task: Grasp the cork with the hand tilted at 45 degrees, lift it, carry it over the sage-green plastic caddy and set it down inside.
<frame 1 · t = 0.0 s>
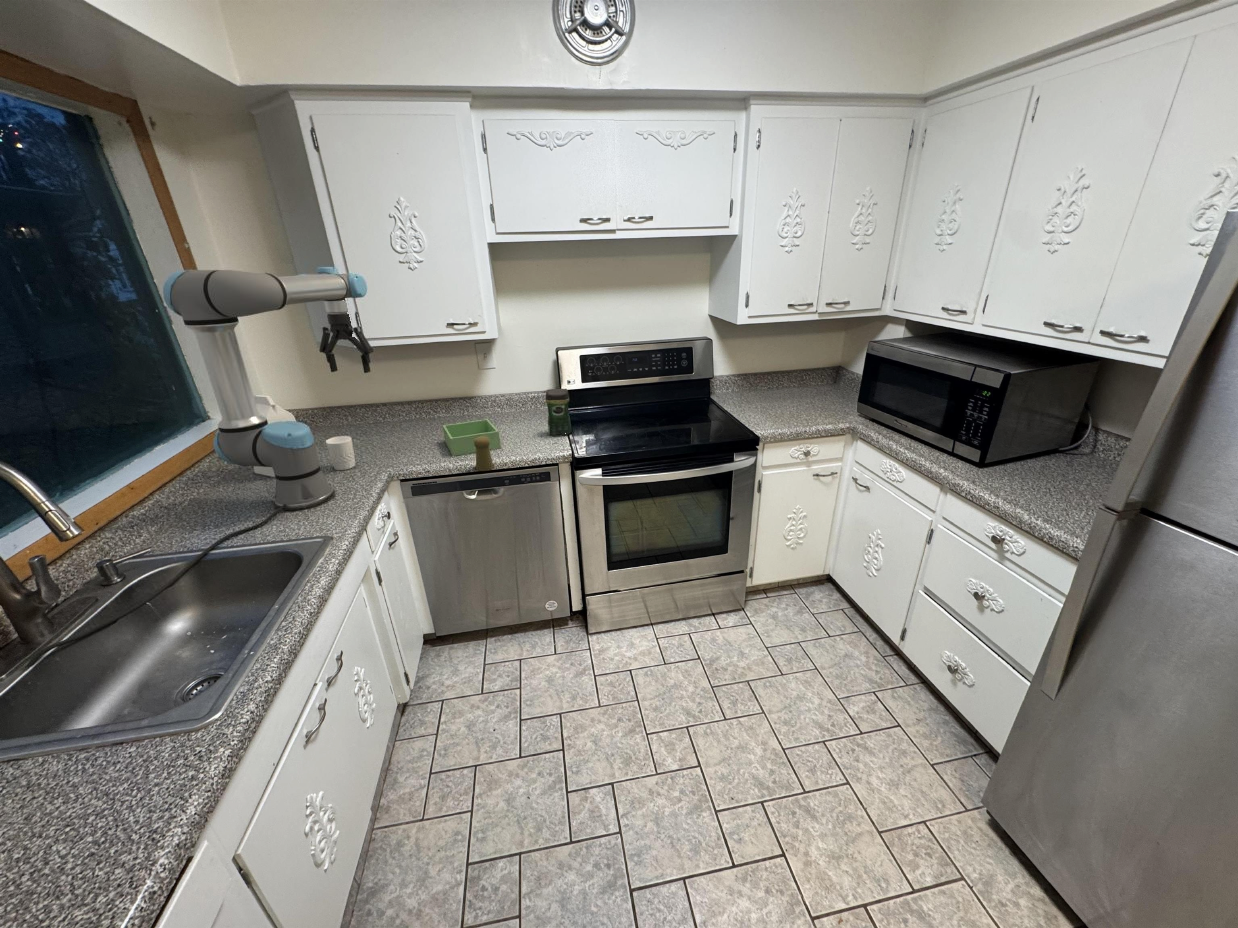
hand: (350, 372, 188), 28 cm above the countertop, tool pointing down, fingers open, 13 cm apart
cork: (484, 468, 174), on the countertop
caddy: (472, 444, 195), on the countertop
white cup: (345, 467, 176), on the countertop
coffee jar: (559, 433, 207), on the countertop
milk: (283, 469, 174), on the countertop
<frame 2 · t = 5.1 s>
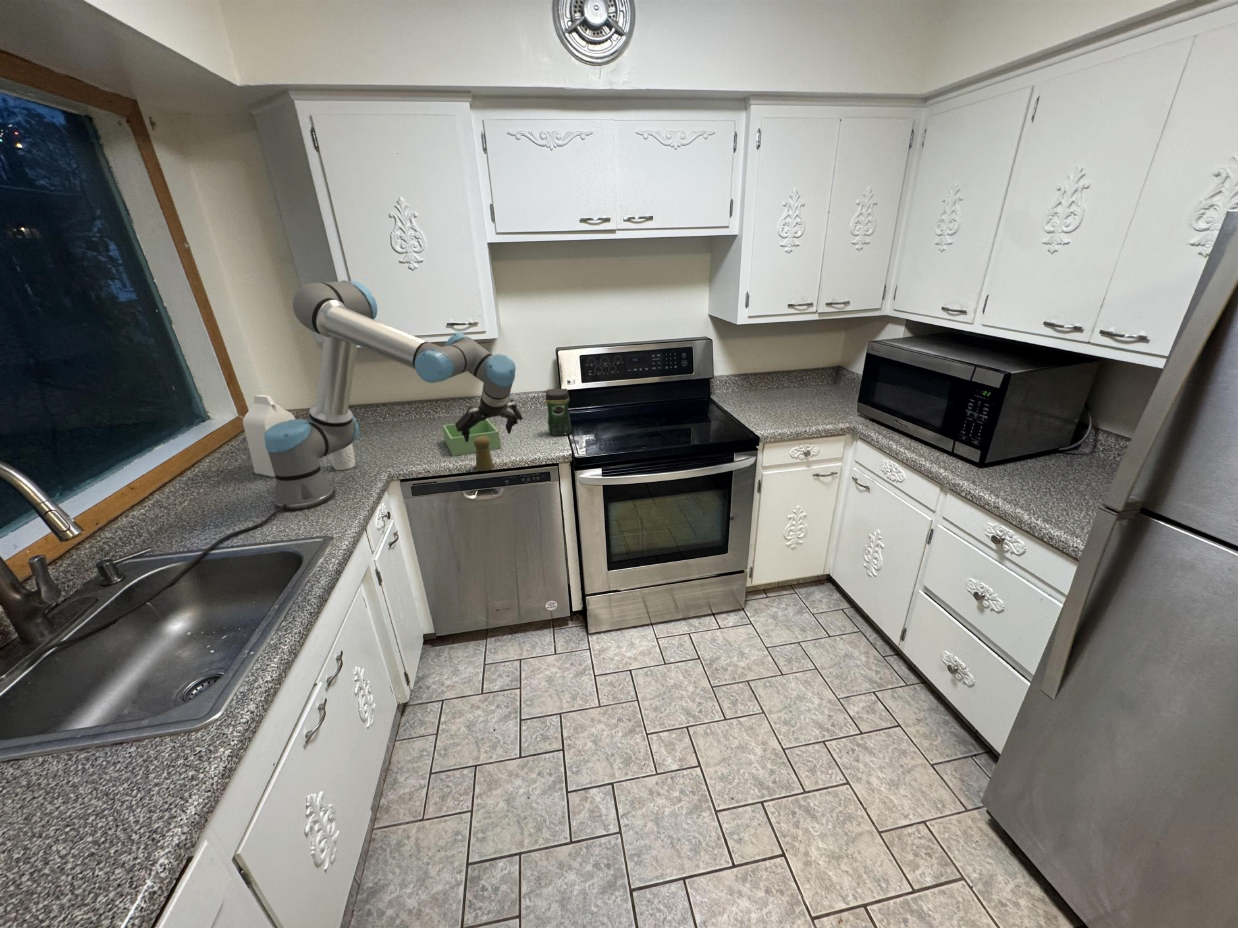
hand: (487, 434, 160), 15 cm above the countertop, tool tilted 45°, fingers open, 13 cm apart
nothing on the countertop moved.
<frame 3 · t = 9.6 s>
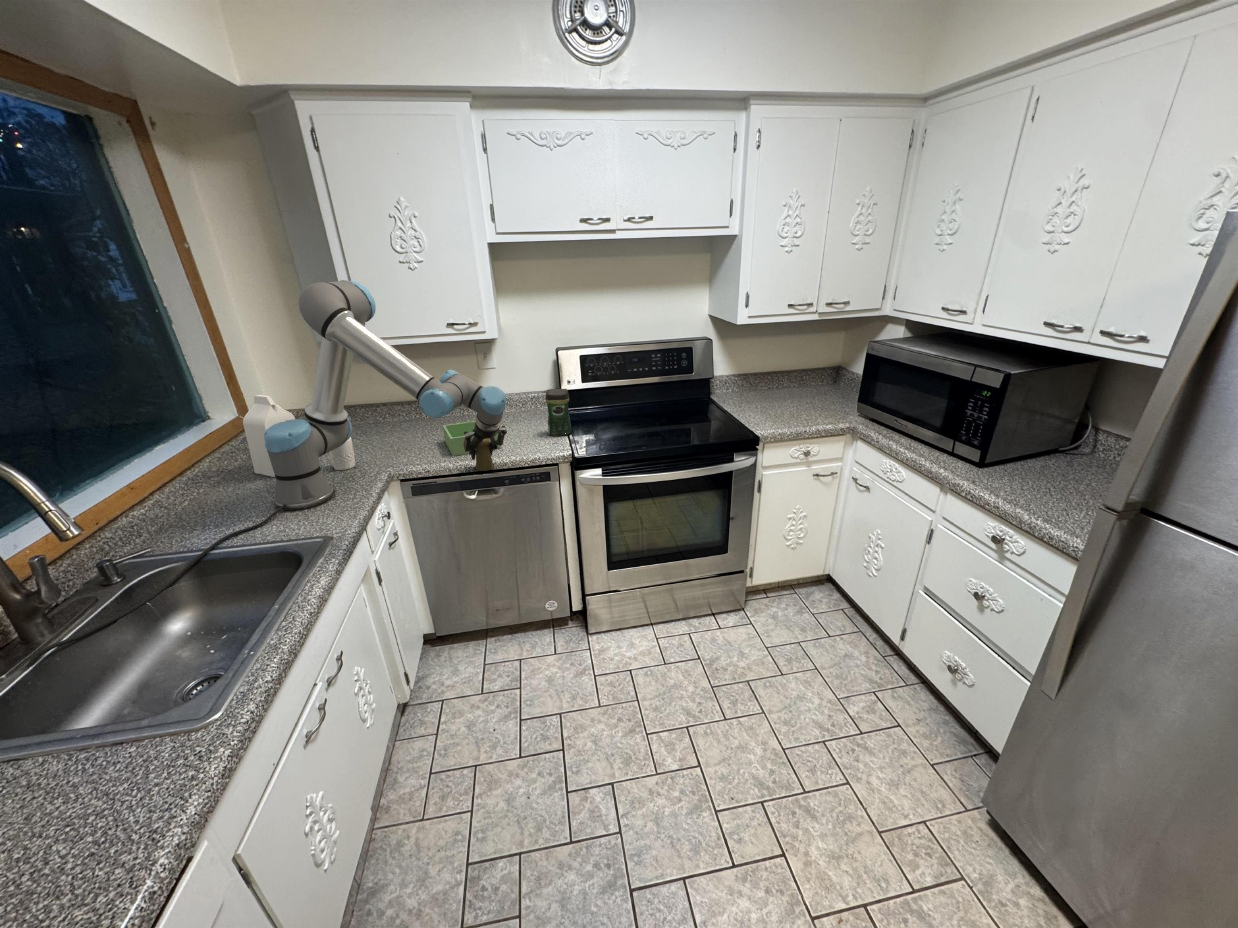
hand: (481, 454, 175), 4 cm above the countertop, tool tilted 45°, fingers closed on cork, 5 cm apart
cork: (484, 468, 174), on the countertop, touching gripper
everything else where it was.
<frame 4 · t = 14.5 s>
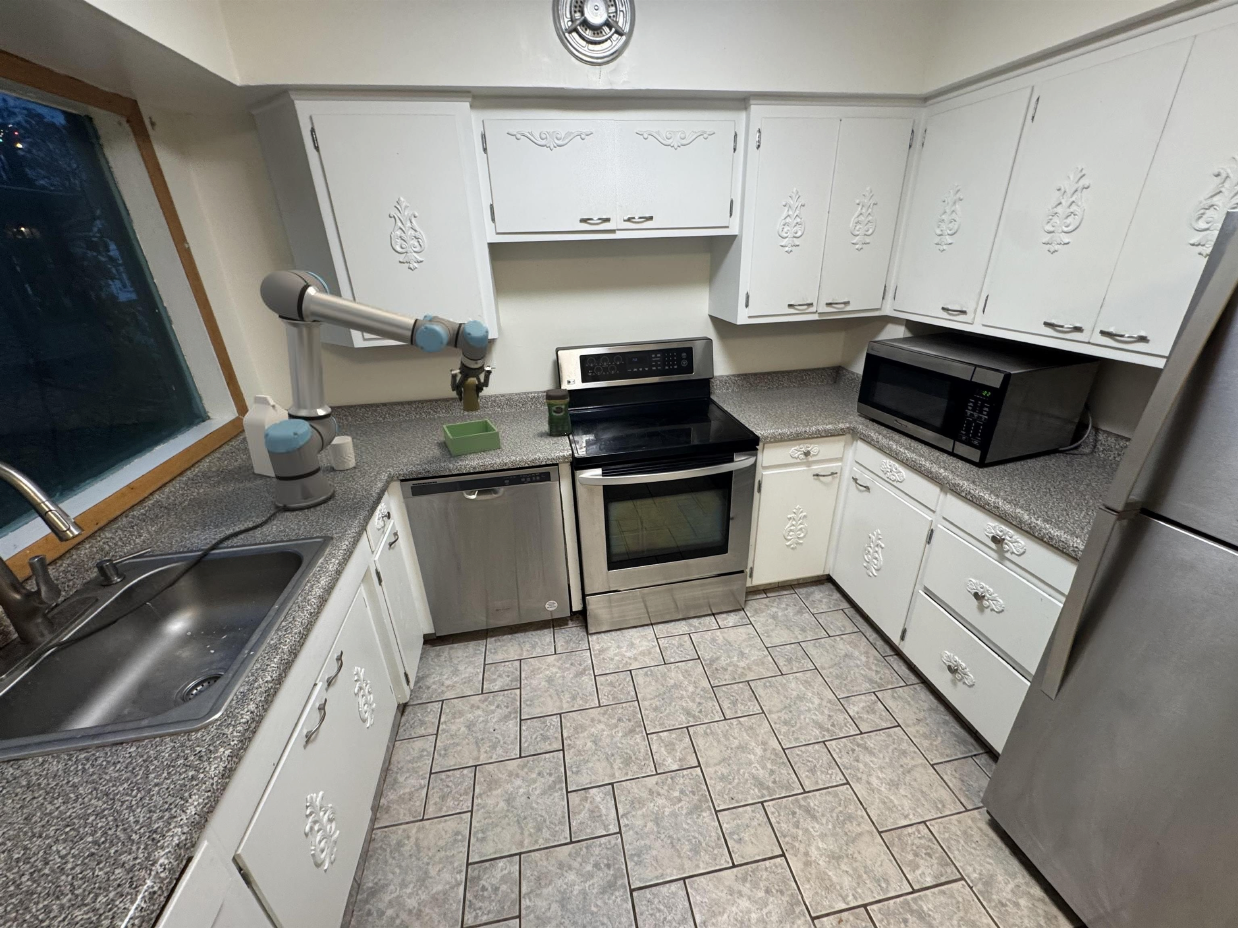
hand: (468, 397, 182), 20 cm above the countertop, tool tilted 45°, fingers closed on cork, 5 cm apart
cork: (471, 409, 181), point 17 cm above the countertop, touching gripper
everything else where it was.
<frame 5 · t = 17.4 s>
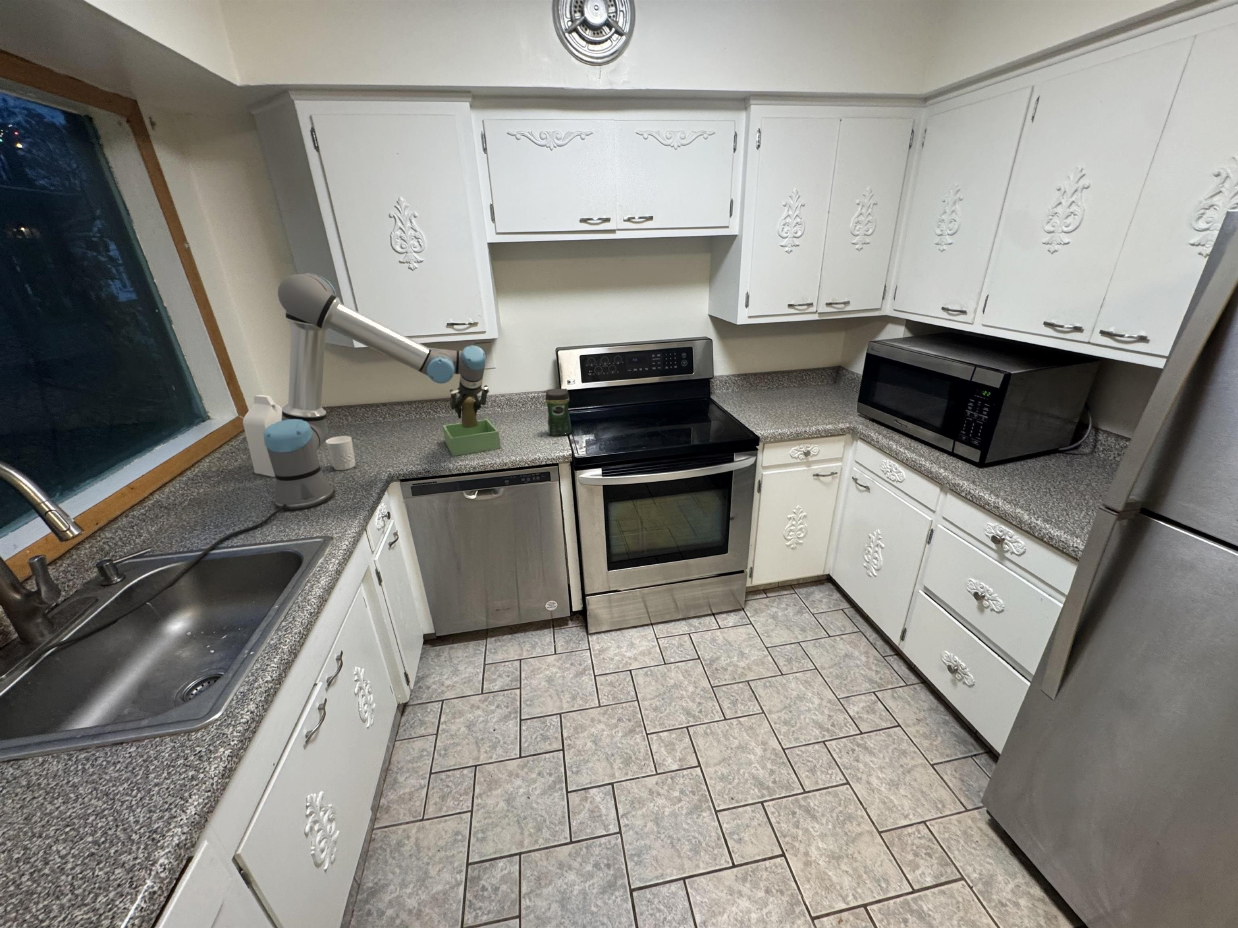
hand: (466, 414, 194), 11 cm above the countertop, tool tilted 45°, fingers closed on cork, 5 cm apart
cork: (470, 426, 192), point 8 cm above the countertop, touching gripper
everything else where it was.
when the fingers open (4 cm above the countertop, at t = 19.5 s): cork stays where it is, resting on caddy.
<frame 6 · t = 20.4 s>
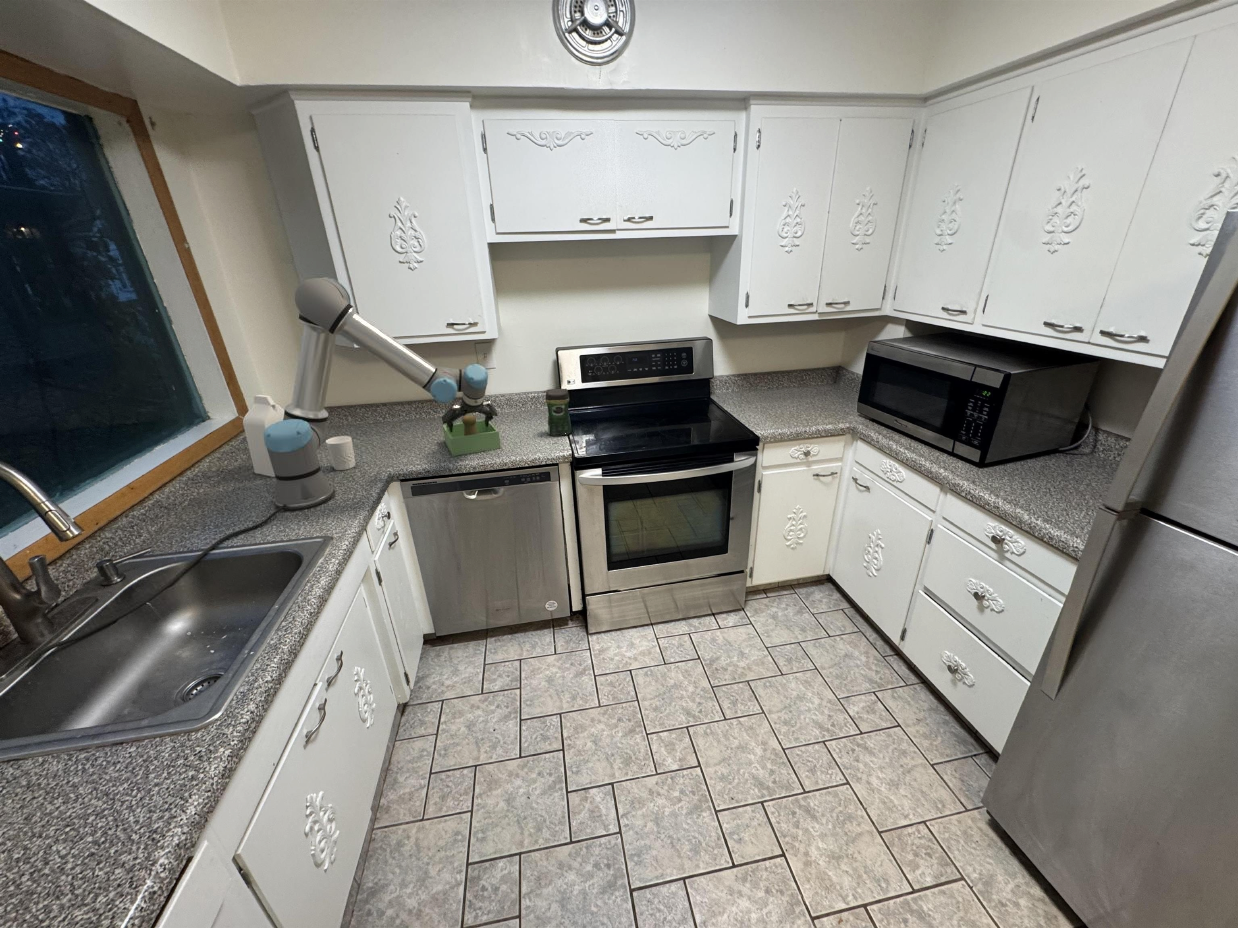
hand: (468, 426, 194), 7 cm above the countertop, tool tilted 45°, fingers open, 13 cm apart
cork: (472, 443, 195), point 1 cm above the countertop, touching caddy
everything else where it was.
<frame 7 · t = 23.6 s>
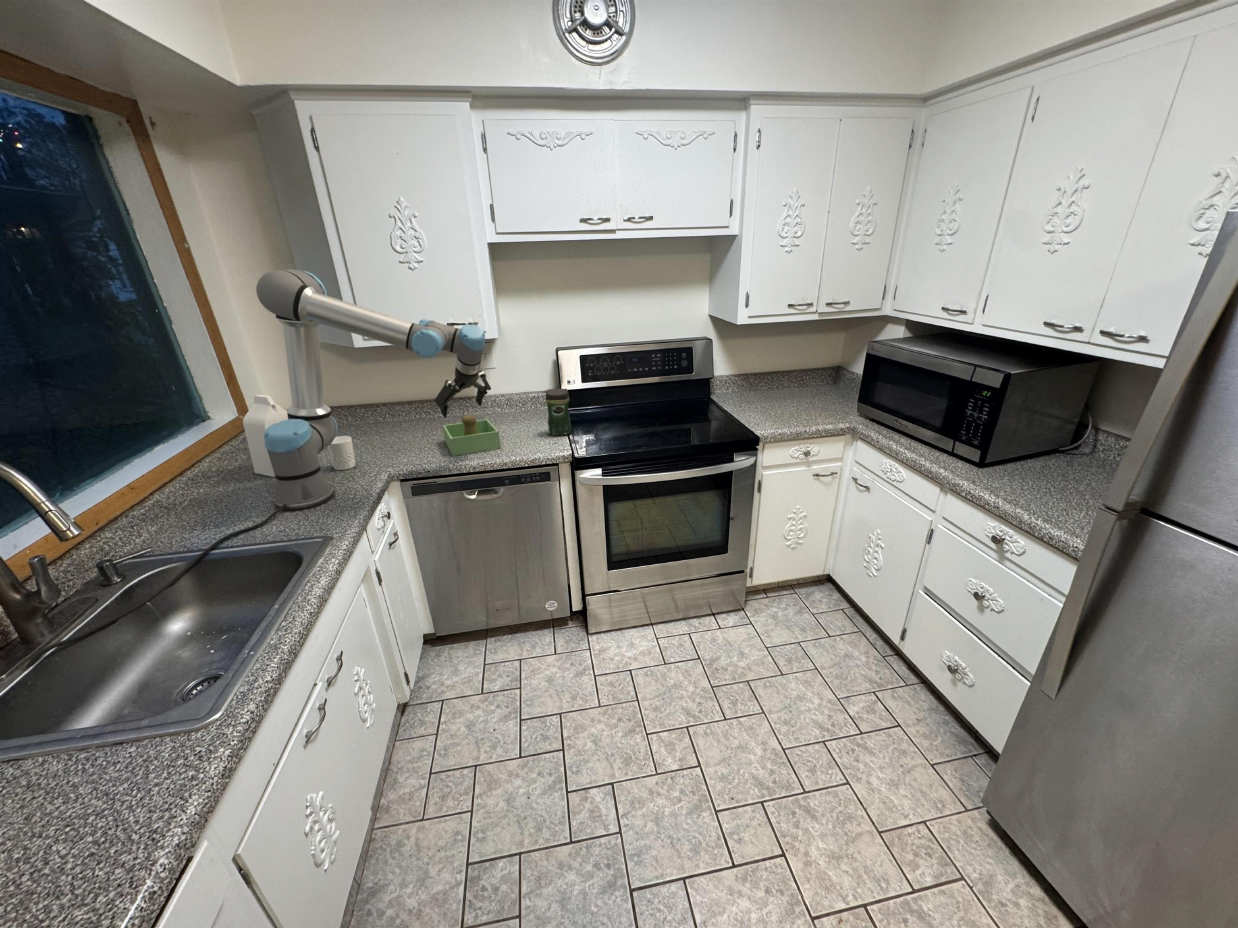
hand: (461, 408, 179), 18 cm above the countertop, tool tilted 35°, fingers open, 13 cm apart
nothing on the countertop moved.
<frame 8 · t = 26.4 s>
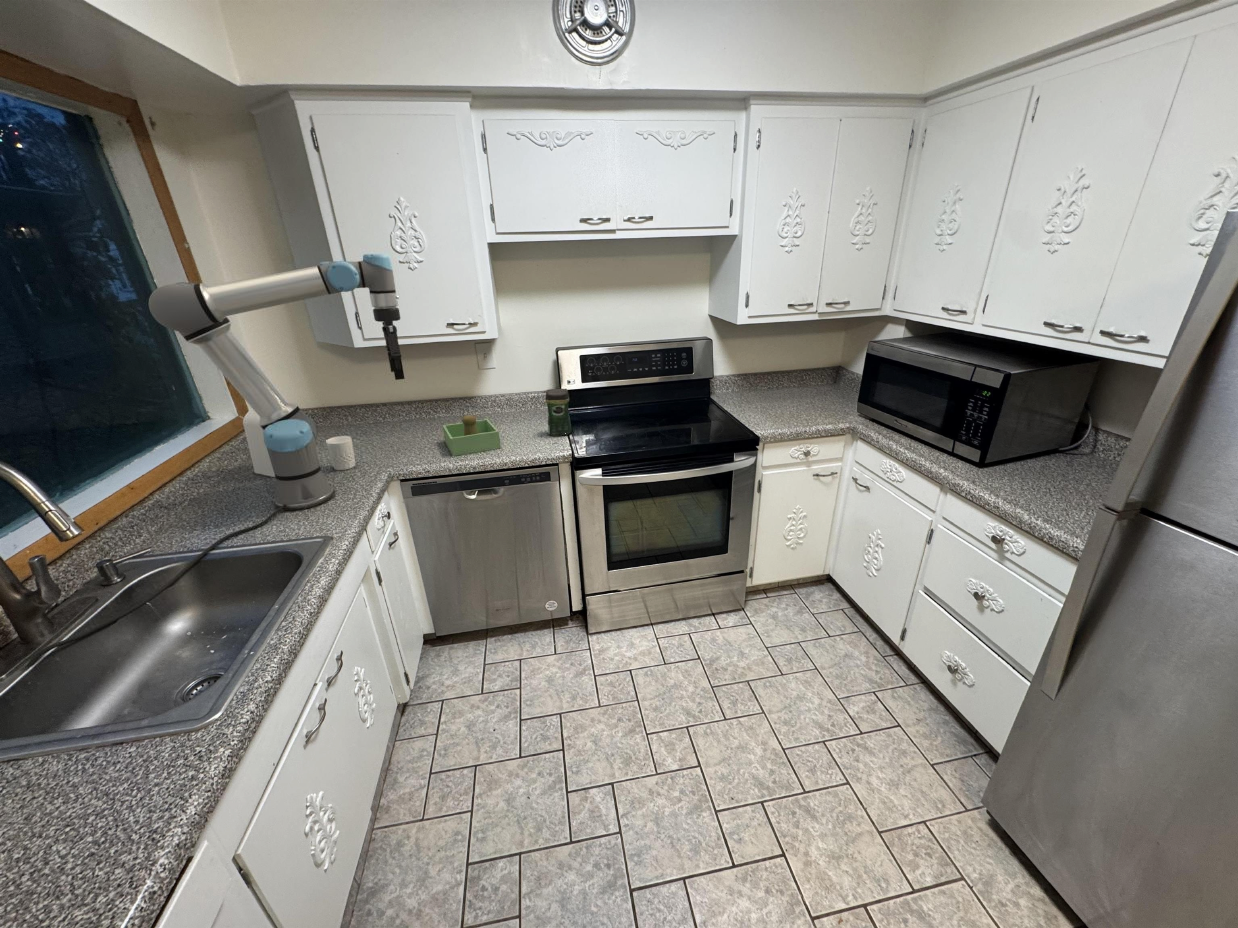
hand: (397, 375, 165), 32 cm above the countertop, tool pointing down, fingers open, 13 cm apart
nothing on the countertop moved.
at the end: cork inside the target area in the caddy (0.0 cm from its centre), point 0.6 cm above the caddy's base; the gripper is holding nothing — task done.
